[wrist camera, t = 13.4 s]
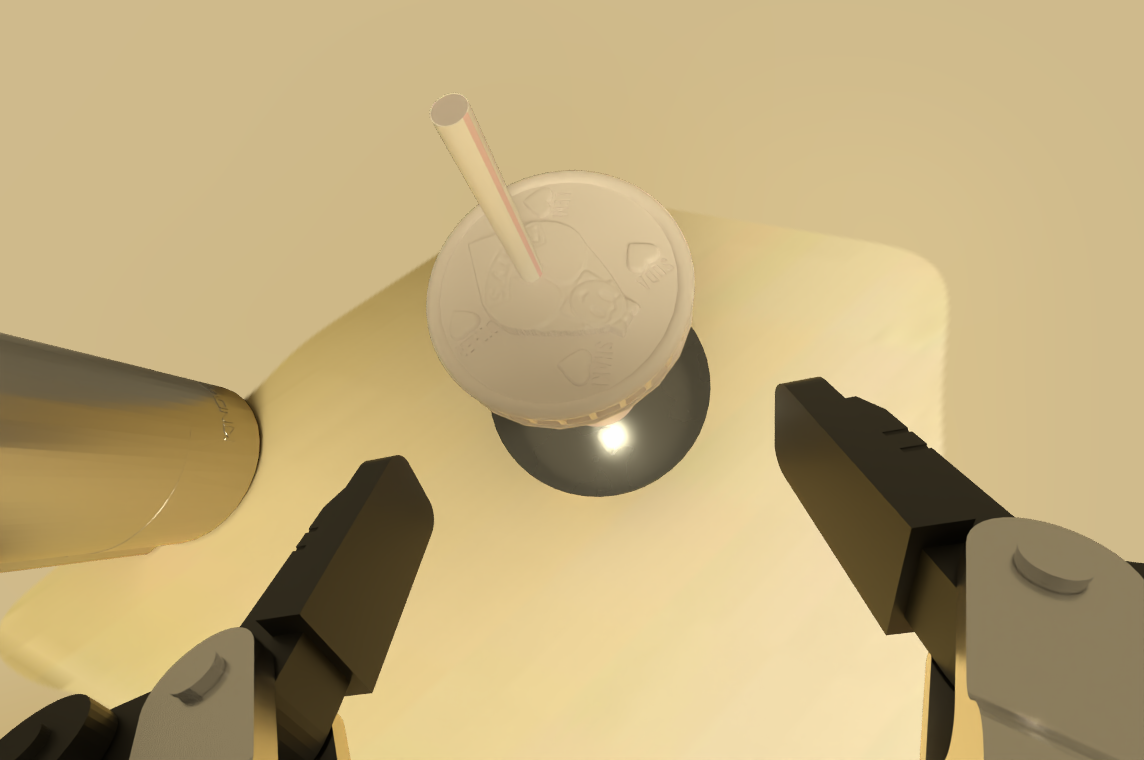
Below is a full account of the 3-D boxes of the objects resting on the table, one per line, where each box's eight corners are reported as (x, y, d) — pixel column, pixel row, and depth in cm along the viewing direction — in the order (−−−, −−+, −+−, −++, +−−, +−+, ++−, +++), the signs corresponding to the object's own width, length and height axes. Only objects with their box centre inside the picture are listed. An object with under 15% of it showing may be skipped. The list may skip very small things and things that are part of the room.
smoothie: (571, 299, 20) (428, -89, 7) (696, 356, 18) (840, -10, 5) (503, 414, 19) (174, 235, 6) (627, 486, 17) (575, 470, 4)
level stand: (588, 539, 20) (579, 548, 17) (475, 388, 23) (449, 372, 20) (743, 406, 20) (761, 392, 17) (612, 275, 23) (608, 243, 20)
